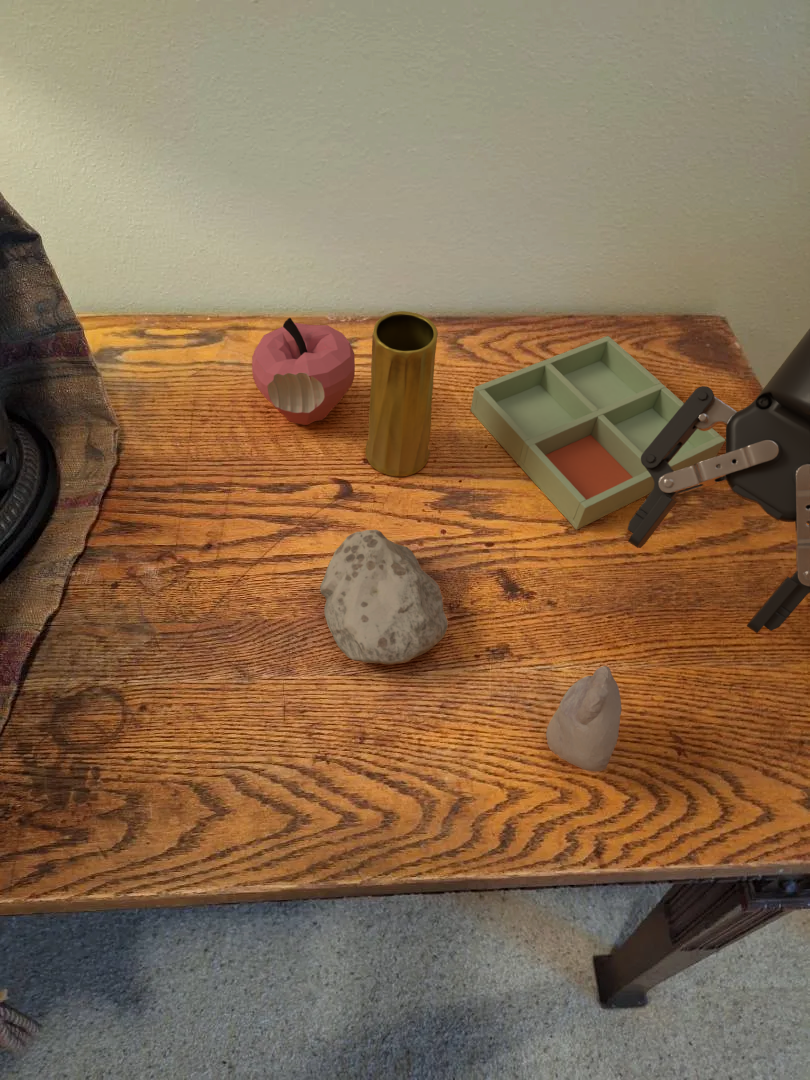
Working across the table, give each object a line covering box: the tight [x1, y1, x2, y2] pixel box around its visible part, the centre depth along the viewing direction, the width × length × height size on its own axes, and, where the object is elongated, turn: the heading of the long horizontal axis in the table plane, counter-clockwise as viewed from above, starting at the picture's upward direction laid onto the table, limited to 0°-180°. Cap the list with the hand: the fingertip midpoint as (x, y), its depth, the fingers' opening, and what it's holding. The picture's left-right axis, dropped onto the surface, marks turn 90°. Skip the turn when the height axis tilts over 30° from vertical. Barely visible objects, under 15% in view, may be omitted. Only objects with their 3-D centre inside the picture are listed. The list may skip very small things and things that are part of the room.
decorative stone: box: [319, 529, 449, 665], centre depth 57 cm, size 12×11×5 cm
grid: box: [470, 335, 726, 531], centre depth 71 cm, size 17×17×3 cm
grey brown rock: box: [545, 665, 623, 773], centre depth 49 cm, size 6×4×10 cm, turn 0°
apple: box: [251, 317, 356, 426], centre depth 68 cm, size 10×9×10 cm
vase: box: [364, 310, 439, 478], centre depth 63 cm, size 6×6×14 cm
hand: (691, 585), depth 45 cm, fingers open, 8 cm apart
